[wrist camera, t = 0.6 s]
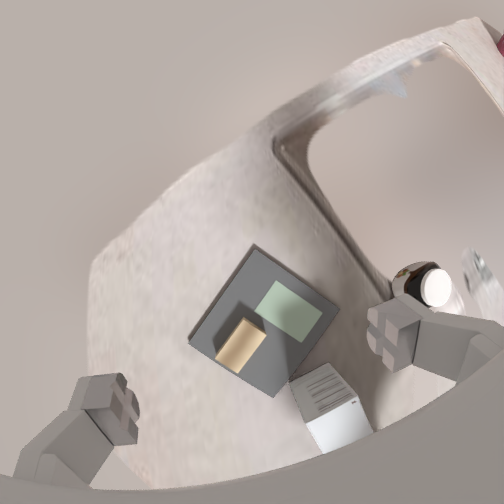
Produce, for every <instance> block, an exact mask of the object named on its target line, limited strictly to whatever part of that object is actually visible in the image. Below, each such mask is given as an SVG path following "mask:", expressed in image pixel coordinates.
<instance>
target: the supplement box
mask: <svg viewBox="0 0 504 504" xmlns="http://www.w3.org/2000/svg"><path fill="white" fill-rule="evenodd" d="M289 384H290V387H291V389H292V392H293V394H294V397H295V399H296V402H297V404H298V407H299V409H300V412H301V414H302V417H303V420H304V422H305V424H306V426H307V428H308V430H309V431H310V433H311V435H312V437H313V438H314V440H315V442H316V443H317V445H318V447H319V448H320V450H321V452H322V453H323V454H325V453H328V452H331V451H333V450H336V449H338V448H341V447H343V446H346V445H348V444H350V443H353V442H355V441H357V440H360V439H362V438H364V437H366V436H368V435H371V434H372V433H374V431H373V429H372V427H371V425H370V423H369V421H368V419H367V416H366V414H365V412H364V409H363V407H362V405H361V402H360V399H359V396H358V395H357V393H356V392H355V391H354V390H353V389H352V388H351V387H350V386H349V385H348V383H347V382H346V381H345V380H344V379H343V378H342V377H341V376H340V375H339V373H338V372H337V371H336V370H335V369H334V368H333V367H332V365H331V364H330V363H329V362H328V363H326V364H324V365H322V366H320V367H319V368H317V369H315V370H313V371H311V372H309V373H307V374H305V375H303V376H301V377H299V378H297V379H295V380H293V381H291V382H289Z"/></svg>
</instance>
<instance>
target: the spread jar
mask: <svg viewBox="0 0 504 504" xmlns="http://www.w3.org/2000/svg"><path fill="white" fill-rule="evenodd" d="M451 288H452V284H451V279H450V276H449V275H448V273H447V272H446V271H445V270H443V269H441V268H440V267H439V266H438V264H436V263H435V262H418V263H414V264H411V265H409V266H407V267H405V268H404V269H402V270H401V271H399V272H398V274H397V275H396V276H395V278H394V280H393V282H392V290H393V294H394V296H395V297H397V296H400V295H402V294H404V293H405V294H409V295H410V296H412V297H413V298H415V299H416V300H417V301H419V302H420V303H422V304H423V305H424V306H426V307H427V308H430V307H432V306H436V307H438V306H441V305H443V304H444V303H445V302H446V301H447V300H448V298H449V296H450V293H451Z"/></svg>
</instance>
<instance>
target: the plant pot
mask: <svg viewBox="0 0 504 504" xmlns="http://www.w3.org/2000/svg"><path fill="white" fill-rule="evenodd" d="M497 47H498V50H499V51H500V53H501V54H502V55H503V56H504V34H503V36H502V38H501V39H500V41H499V43H498V44H497Z"/></svg>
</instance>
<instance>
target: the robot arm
mask: <svg viewBox="0 0 504 504" xmlns="http://www.w3.org/2000/svg"><path fill="white" fill-rule="evenodd" d="M367 319H368V320H369V321H370V322H371V323H370V325H369V327H368V328H367V341H368V344H369V346H370V348H371V350H372V351H373V352H374V353H375V354H376V355H379V356H382V362H383V364H384V365H385V366H386V367H387V368H388V369H389V370H390V371H391V372H392V373H394V372H397V371H399V370H401V369H403V368H405V367H407V366H409V365H411V364H413V365H414V366H417V367H419V368H422V369H424V370H427V371H429V372H432V373H435V374H437V375H440V376H443V377H445V378H448V379H451V380H453V381H456V385H455V387H453V388H452V389H450V390H449V391H447V392H446V393H444V394H443V395H441V396H440V397H438V398H437V399H435V400H433V401H432V402H430V403H429V404H427V405H425V406H423V407H422V408H420V409H419V410H417V411H415V412H413V413H411V414H410V415H408V416H406V417H404V418H402V419H401V420H399V421H397V422H395V423H393V424H391V425H389V426H387V427H385V428H383V429H381V430H379V431H377V432H375V433H373V434H371V435H368V436H366V437H364V438H362V439H360V440H357V441H355V442H353V443H350V444H348V445H346V446H343V447H341V448H338V449H336V450H333V451H331V452H328V453H325V454H322V455H320V456H317V457H314V458H311V459H308V460H305V461H302V462H299V463H296V464H293V465H290V466H286V467H283V468H279V469H276V470H272V471H268V472H264V473H260V474H256V475H252V476H248V477H243V478H238V479H233V480H228V481H223V482H217V483H211V484H204V485H197V486H188V487H179V488H168V489H153V490H97V489H93V488H92V487H90V486H89V484H90V483H91V481H92V480H93V478H94V477H95V475H96V473H97V472H98V471H99V469H100V468H101V466H102V465H103V463H104V462H105V460H106V459H107V457H108V456H109V454H110V453H111V451H112V450H113V449H114V446H121V445H132V444H137V438H138V427H137V426H136V424H135V422H136V421H137V420H138V419H139V415H140V410H139V403H138V401H137V398H136V396H135V394H134V392H133V391H131V390H130V389H128V388H126V386H127V380H126V379H125V377H124V376H123V374H121V373H112V374H104V375H94V376H87V377H81V378H79V379H78V382H77V385H76V387H75V390H74V393H73V396H72V398H71V401H70V404H69V407H68V410H67V411H63V412H62V413H61V414H60V415H59V416H58V417H56V418H55V419H54V420H53V421H52V422H51V423H50V424H49V425H48V426H47V427H46V428H44V429H43V430H42V431H41V432H40V433H39V434H38V435H37V436H36V437H35V438H34V439H33V440H31V441H30V442H29V443H28V444H27V445H26V446H25V447H24V448H23V449H22V450H21V453H20V456H19V459H18V462H17V465H16V468H15V471H14V475H13V477H10V476H6V475H2V474H0V504H504V327H503V326H501V325H500V324H498V323H497V322H495V321H491V320H485V319H478V318H473V317H467V316H461V315H455V314H449V313H444V312H436V313H434V312H433V311H431V310H430V309H429V308H427V307H426V306H424V305H423V304H422V303H420V302H419V301H417V300H416V299H415V298H413V297H412V296H410V295H409V294H405V293H404V294H402V295H400V296H397V297H395V298H393V299H391V300H389V301H386V302H384V303H381V304H378V305H376V306H373V307H371V308H369V309H368V312H367Z"/></svg>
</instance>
